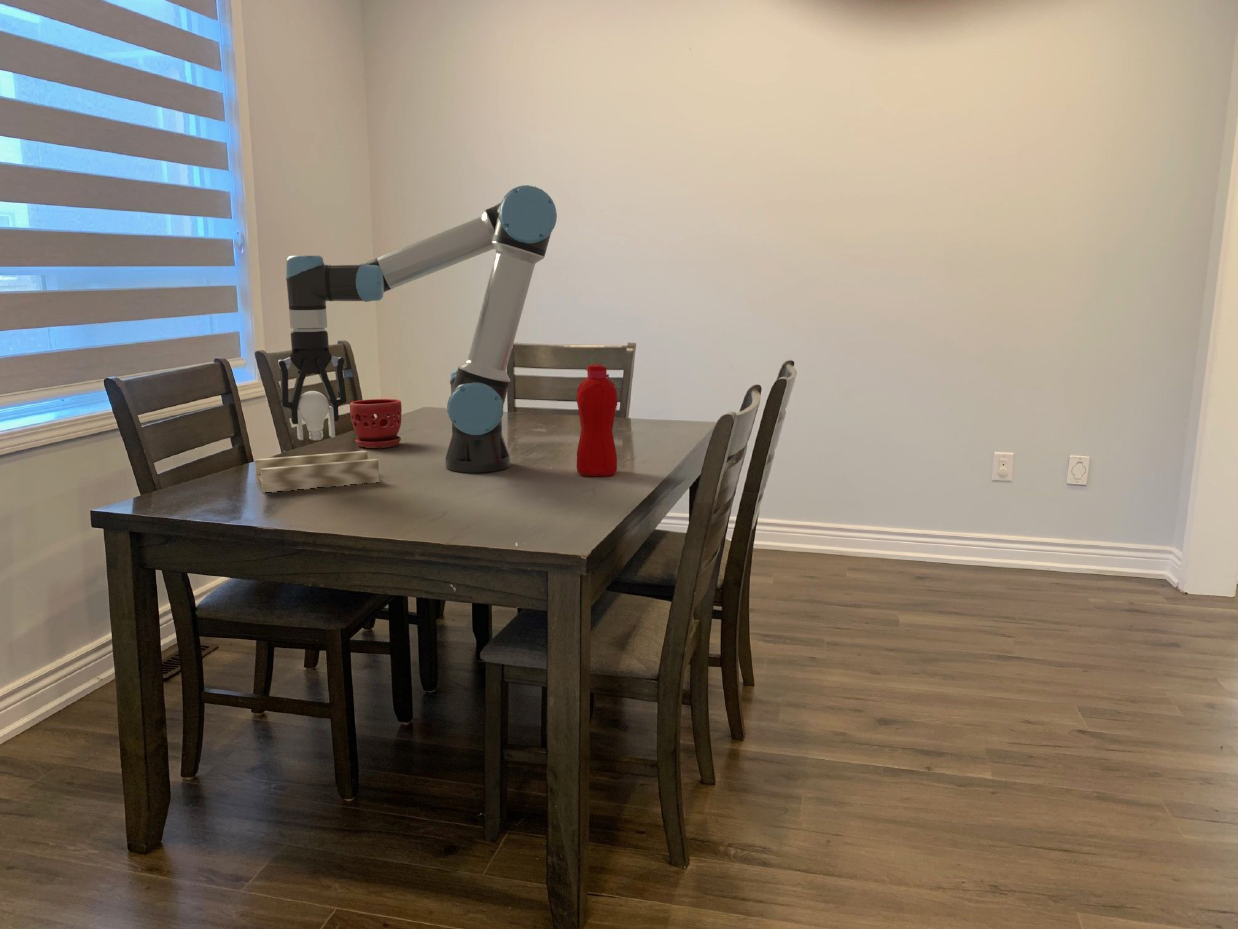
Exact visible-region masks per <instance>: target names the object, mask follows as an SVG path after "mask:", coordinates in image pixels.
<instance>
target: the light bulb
mask: <svg viewBox="0 0 1238 929" xmlns="http://www.w3.org/2000/svg"><path fill="white" fill-rule="evenodd" d="M328 400H329V399H328V397H326V396H325V395H324V394H323V393H321V392H320V391H316V390H308V391H305V392H304V393H301V395H300V399H299V403H298V407H297V409H298V410H300V413H301V415H302V421H303V422H304V423H305V426H306V429H307V431H308V439H309V440H311V441H314V442H319V441H320V440H322V439H323V438H324V431H323V429H324V422H325V420H326V417H327V416H328V411H329V406H330V404H329V403H330V402H329V401H328Z"/></svg>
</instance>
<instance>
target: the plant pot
mask: <svg viewBox="0 0 1238 929" xmlns="http://www.w3.org/2000/svg"><path fill="white" fill-rule="evenodd" d="M402 410H403V409H402V401H401V400H400V399H395V398H377V399H375V398H373V399H372V398H371V399H361V400H360V399H359V400H356V401H351V402H349V413H350V414H349V415H350V420H351V424H352V428H353V430H354V432H355V435H356V436H357V438H356V439H355V440H354V441H355V443H356V444H357V446H359V447H361V448H362V447H365V448H366V449H385V448H393V447H394V446H396V445H399V443H400V441H402V439H401V438H402V437H401V436H398V434H399V432H400V429H401V425H402ZM375 415H376V417H375Z"/></svg>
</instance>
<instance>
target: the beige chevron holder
mask: <svg viewBox="0 0 1238 929" xmlns="http://www.w3.org/2000/svg"><path fill="white" fill-rule="evenodd" d="M379 465H380V464H379V459H378V458H372V459H371V458H369V459H368V451H367V450H357V451H343V452H330V453H320V454H319V453H318V454H307V455H306V454H305V455H296V456H295V455H293V456H279V457H269V458H267V457H266V458H256V459H254V471H255V482H256V481H257V482H256V484H257V483H258V484H259V486H260V487H259V486H258V487H259V489H260V488H261V489H260V490H261V492H262V491H263V492H264V493H263V492H262V493H263V494H266V493H265V492H272V493H278V492H277V491H283V492H292V491H291V490H294V491H298V490H297V489H304V490H311V489H310V488H315V489H318V488H317V487H325V488H332V487H331V486H336V487H344V485H347V486H351V485H350V484H357V485H365V484H364V483H368V484H375V483H376V482H379V483H380V468H379ZM362 483H363V484H362ZM258 484H257V485H258Z"/></svg>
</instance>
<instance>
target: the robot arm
mask: <svg viewBox="0 0 1238 929" xmlns="http://www.w3.org/2000/svg"><path fill="white" fill-rule="evenodd" d="M557 214H558V212H557V209H556V204H555V202H554V200H553V199H552V198H551V196H550V195H549V194H548V193H547V192H546V191H544V190H543V189H541V188H539V187H537V186H533V185H528V184H527V185H519V186H516V187H514V188H512V189H510V190H509V191H508V192H507V193H506V194H505V195H504V196H503V199H502V200H501V202H500V203H498V204H496V205H494V206H491V207H489V208H486V209H485V210H483V212H482V214H481V216H479V217H477V218H474V219H471V220H469V221H467V222H464V223H462V224H459V225H456V226H453V227H451V228H448V229H446V230H444V231H442V232H439V233H436V234H434V235H433V234H432V236H428V237H427V238H424V239H421V240H418V241H416V242H414V243H410V244H408V245H405V246H403V247H401V248H398V249H396V250H394V251H390V252H389V253H386V254H384V255H380V256H379V257H376V258H373V259H370V260H368V261H365V262H363V263H361V264H345V265H344V264H337V265H333V264H332V265H331V264H325V262H324V259H323V257H322V256H321V255H289V256H288V257H287V259H286V262H285V263H286V266H285V267H286V276H285V280H286V289H287V299H288V300H287V301H288V310H289V312H288V313H289V315H288V316H289V328H290V329H291V330H293V331H291V332H290V344H291V353H290V355H289V357H287V358H284V359H278V360H277V365H278V368H279V371H280V404H281V406H282V407H283V408H287V409H289V410H290V420H291V424H292V425H296V434H297V439H298V440H299V441H304V430H303V419H302V415H301V413H300V410H298V409H297V407H298V403H299V399H300V396H301V395H302V392H303V391H302V390H303V388H304V382H305V380H306V377H307V375H311V374H316V375H318V376H319V378H320V380H321V383H322V385H323V388H324V390H325V393H326V396H327V399H328V400H329V401H328V402H329V403H330V405H329V411H328V413H327V419H328V420H327V424H328V436H329V437H330V438H336V430H335V429H336V428H335V422H338V421H339V419H340V415H339V407H340V406H341V405H343V404H346V403H347V394H346V383H345V377H344V365H345V359H344V358H343V357H341V356H335V355H334V356H333V355H332V354H331V352H330V348H329V346H330V344H329V332H328V331H327V330H326V329H327V328H328V318H327V305H326V303H327V302H365V303H369V302H377V301H379V302H380V301H381V300H382V299H384V298H383V297H384V293H386V292H388V291H390V290H393V289H395V288H397V287H400V286H401V287H402V286H404V285H406V284H408V283H411V282H413V281H415V280H418V279H421V278H423V277H426V276H428V275H431V274H433V273H437V272H438V271H441V270H444V269H447V268H449V267H452V266H453V265H457V264H459V263H462V262H464V261H467V260H469V259H471V258H474V257H477V256H479V255H482V254H484V253H487V252H489V251H492V250H495V256H494V259H493V264H492V267H491V271H490V275H489V278H488V282H487V286H486V290H485V294H484V298H483V301H482V304H481V309H480V312H479V316H478V320H477V323H476V327H475V330H474V334H473V338H472V341H471V346H470V348H469V354H468V357H467V359H466V360H465V361H463V363H460V364H459V365H458V368H457V369H455V370H452V371H451V373H450V380H449V384H450V396H449V398H448V401H447V405H446V406H447V414H448V417H449V419H450V421H451V433H452V434H451V438H450V441H449V445H448V448H447V452H446V455H445V457H444V458H445V462H444V463H445V468H446V469H447V470H449V471H453V472H458V473H459V472H460V473H490V472H499V471H503V470H506V469H508V468H510V466H511V458H510V454H509V450H508V448H507V444H506V442H505V438H504V436H503V420H502V419H503V416H504V404H505V401H506V398H507V394H508V390H509V386H510V383H511V379H510V377H509V374H508V373H507V368H508V364H509V361H510V357H511V354H512V349H513V346H514V342H515V339H516V335H517V331H518V328H519V324H520V320H521V318H522V313H523V310H524V305H525V303H526V298H527V295H528V292H529V287H530V284H531V281H532V277H533V273H534V269H535V265H536V264H537V263H539V262H540V261H542V260H544V258H545V256H546V254H547V249H548V247H549V243H550V238H551V236H552V232H553V230H554V229H555V227H556V224H557V218H558V215H557ZM330 362H332V365H333V367H334V374H335V380H336V388H337V396H336V394H335V392H334V389H333V387H332V384H331V381H330V378H329V377H328V376H329V375H328V372H327V370H326V368H327V366H328V365H329V363H330ZM291 364H293V366H294V367H296V369H297V373H296V379H295V382H294V386H293V391H292V394H291V400H290V401H289V371H288V370H289V369H290V368H291ZM337 397H338V398H337Z"/></svg>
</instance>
